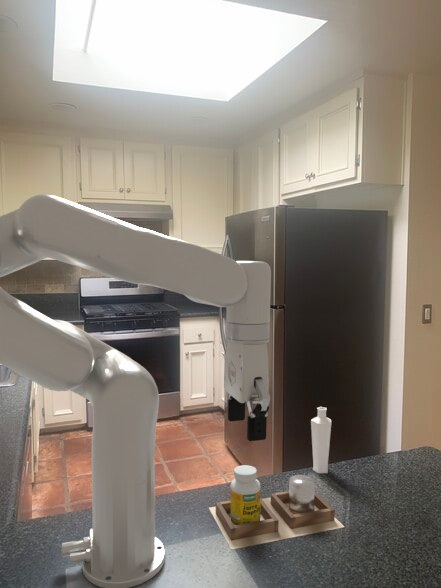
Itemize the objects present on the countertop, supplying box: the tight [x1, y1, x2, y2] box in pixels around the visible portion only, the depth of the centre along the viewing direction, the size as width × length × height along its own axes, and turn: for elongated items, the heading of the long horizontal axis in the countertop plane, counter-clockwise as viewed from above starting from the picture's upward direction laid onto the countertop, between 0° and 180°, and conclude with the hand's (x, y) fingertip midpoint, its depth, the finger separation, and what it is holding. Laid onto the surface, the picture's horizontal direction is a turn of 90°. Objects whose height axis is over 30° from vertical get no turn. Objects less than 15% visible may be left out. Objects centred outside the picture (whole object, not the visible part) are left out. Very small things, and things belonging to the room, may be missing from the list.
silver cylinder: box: [288, 474, 316, 515], centre depth 83 cm, size 5×5×6 cm
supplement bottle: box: [229, 464, 262, 525], centre depth 79 cm, size 5×5×10 cm
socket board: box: [208, 490, 345, 551], centre depth 81 cm, size 21×13×3 cm, turn 108°
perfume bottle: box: [310, 406, 332, 474], centre depth 99 cm, size 5×4×15 cm
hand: (245, 429), depth 78 cm, fingers open, 9 cm apart
